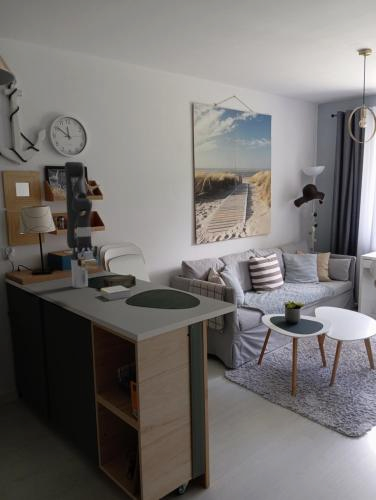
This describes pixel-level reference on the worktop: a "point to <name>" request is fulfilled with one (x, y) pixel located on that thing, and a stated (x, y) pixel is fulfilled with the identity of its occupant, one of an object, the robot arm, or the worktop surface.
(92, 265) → the tan rectangular block
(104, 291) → the dock
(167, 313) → the worktop surface
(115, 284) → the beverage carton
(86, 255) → the pale blue cube
